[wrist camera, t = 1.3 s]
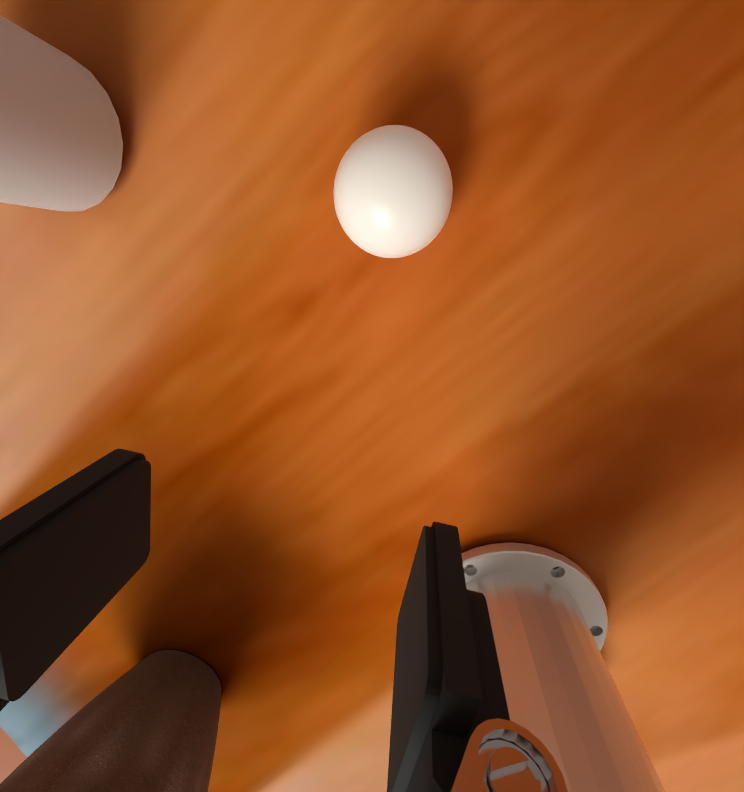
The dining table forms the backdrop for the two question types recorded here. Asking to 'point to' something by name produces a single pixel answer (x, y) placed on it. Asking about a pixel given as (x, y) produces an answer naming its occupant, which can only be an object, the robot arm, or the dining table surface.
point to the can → (53, 127)
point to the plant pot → (134, 734)
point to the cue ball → (393, 191)
